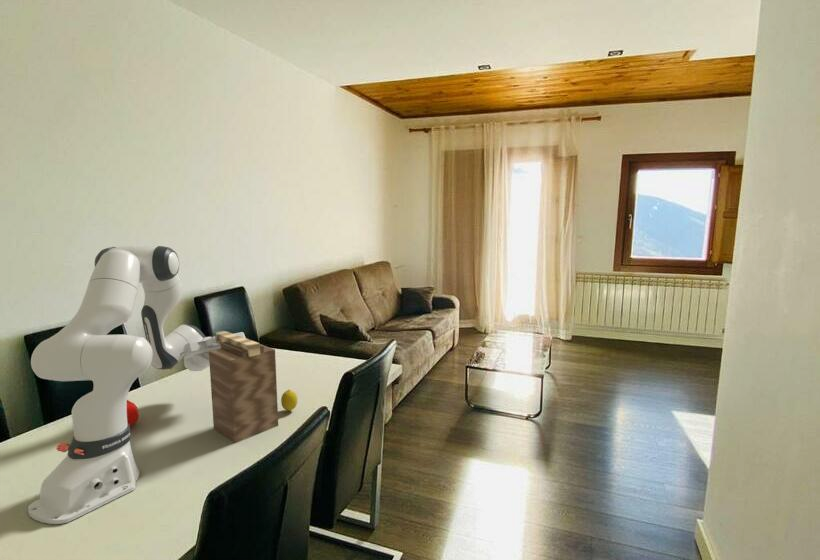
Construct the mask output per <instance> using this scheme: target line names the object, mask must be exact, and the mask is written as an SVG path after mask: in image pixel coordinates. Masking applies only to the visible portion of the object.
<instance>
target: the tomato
mask: <svg viewBox="0 0 820 560" xmlns="http://www.w3.org/2000/svg"><path fill="white" fill-rule="evenodd" d="M139 416H140V414H139V409H138V407H137V406H136V404H135V403H134V402H133V401H132V402H131V401H130V400H128V399H127V423H128V424H129V425H130V427H132V426H133V425H136V423H137V422H138V421H139Z"/></svg>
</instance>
